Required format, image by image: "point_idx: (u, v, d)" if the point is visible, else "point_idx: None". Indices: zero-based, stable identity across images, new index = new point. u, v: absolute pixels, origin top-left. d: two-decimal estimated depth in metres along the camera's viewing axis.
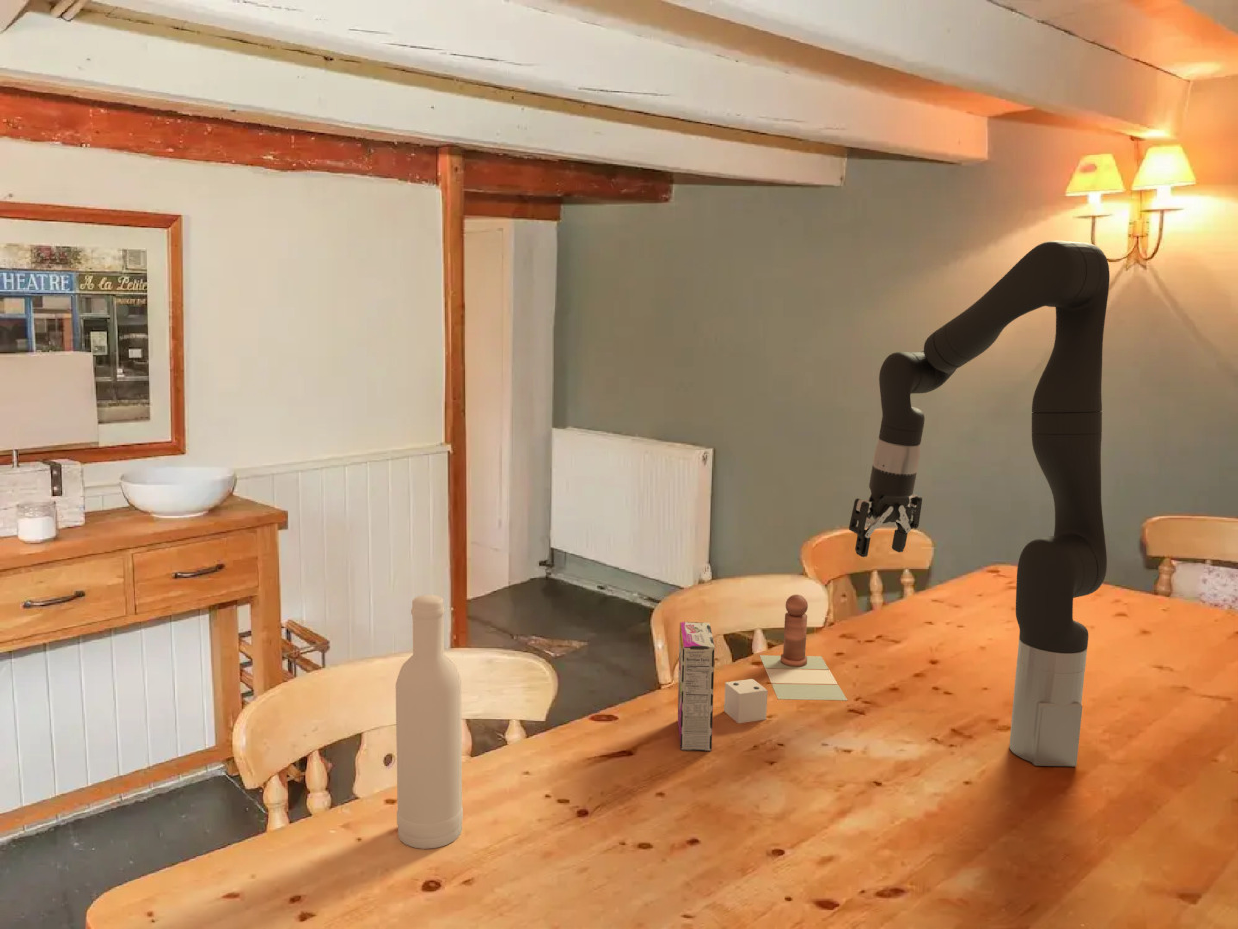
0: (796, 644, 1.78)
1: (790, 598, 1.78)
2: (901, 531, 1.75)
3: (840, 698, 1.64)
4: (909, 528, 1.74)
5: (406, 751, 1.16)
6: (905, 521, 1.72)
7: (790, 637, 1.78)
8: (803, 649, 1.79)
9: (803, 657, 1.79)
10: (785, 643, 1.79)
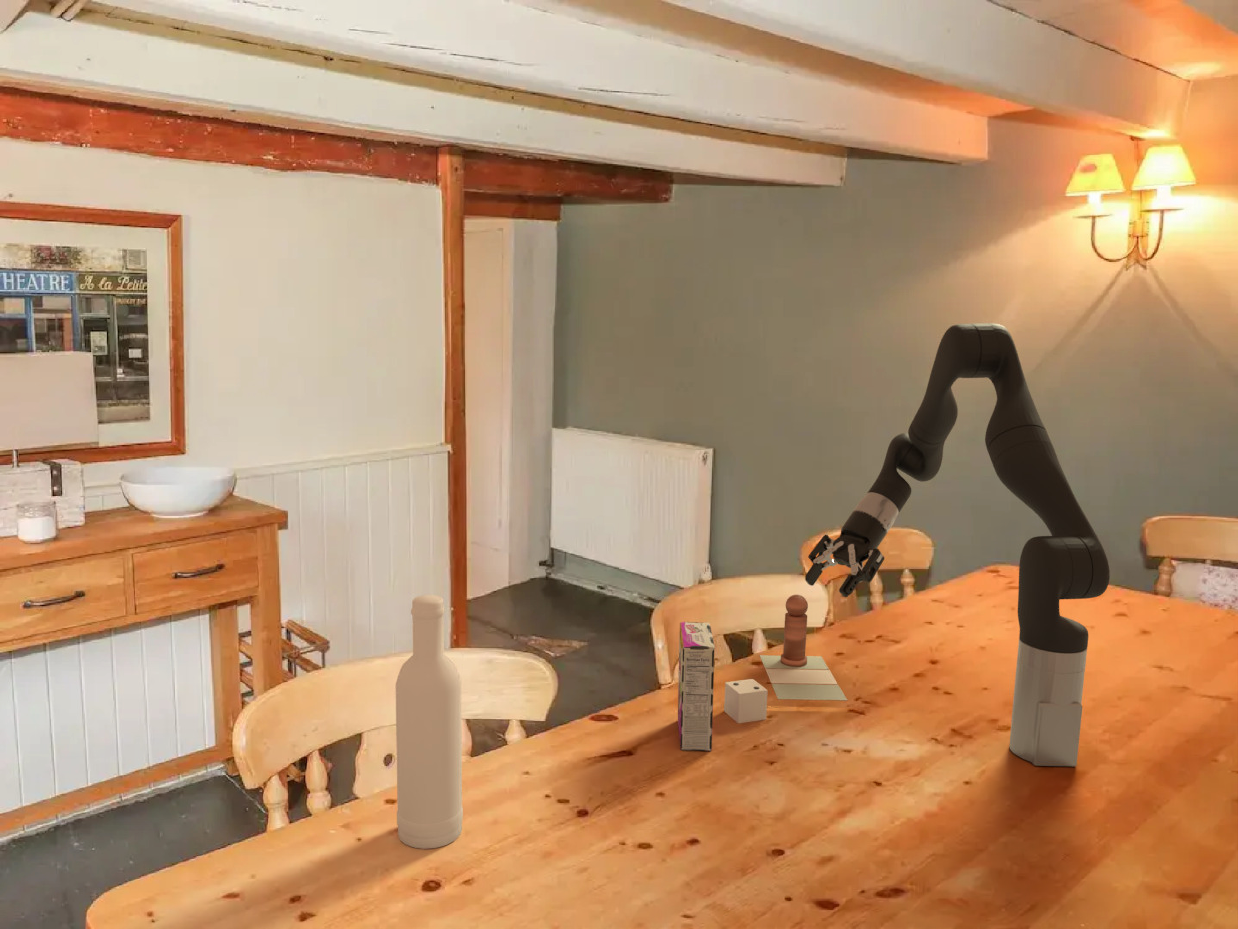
0: (796, 644, 1.78)
1: (790, 598, 1.78)
2: None
3: (840, 698, 1.64)
4: (855, 571, 1.79)
5: (406, 751, 1.16)
6: (851, 560, 1.81)
7: (790, 637, 1.78)
8: (803, 649, 1.79)
9: (803, 657, 1.79)
10: (785, 643, 1.79)
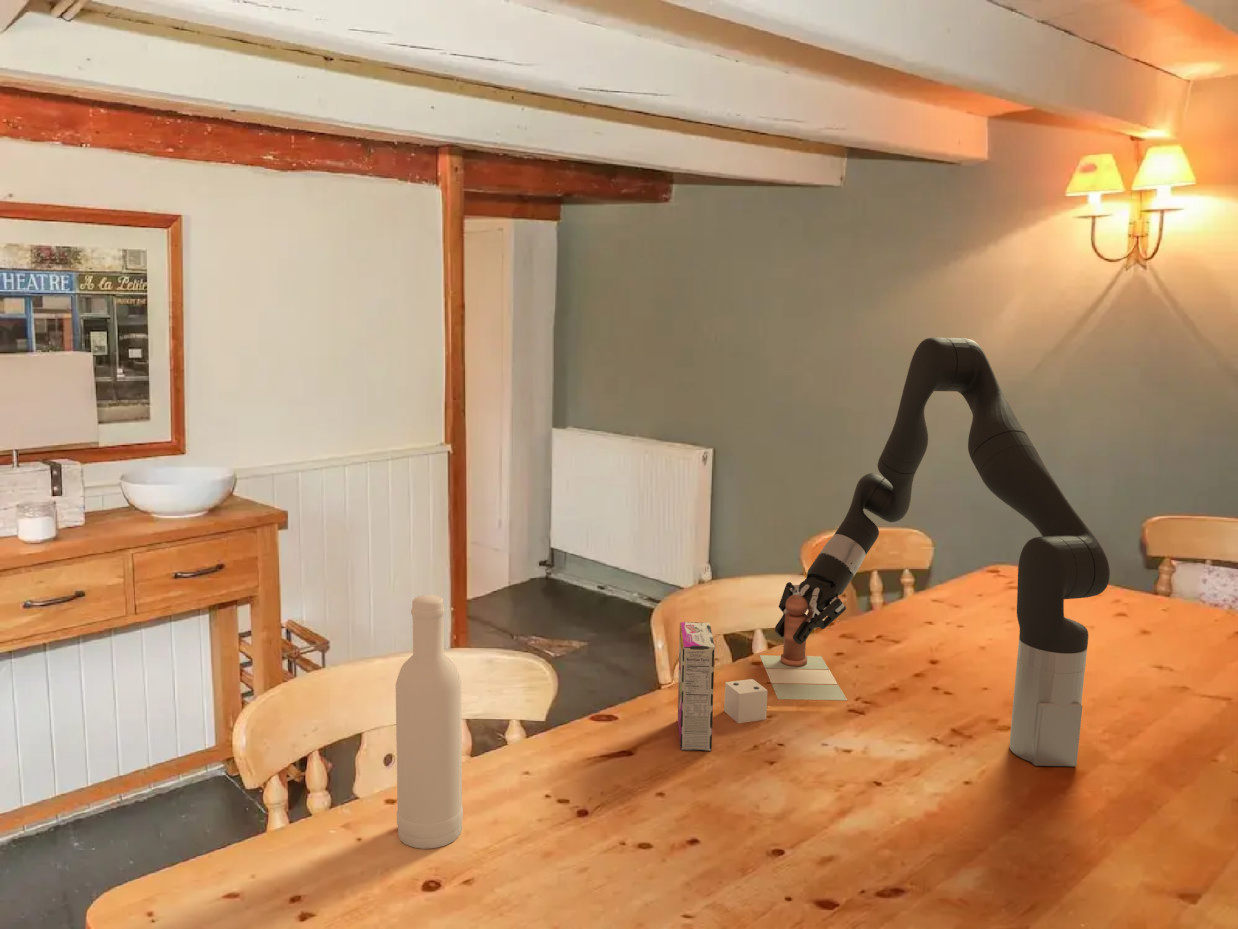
0: (796, 644, 1.78)
1: (790, 598, 1.78)
2: None
3: (840, 698, 1.64)
4: (809, 618, 1.77)
5: (406, 751, 1.16)
6: (810, 606, 1.78)
7: (790, 637, 1.78)
8: (803, 649, 1.79)
9: (803, 657, 1.79)
10: (785, 643, 1.79)
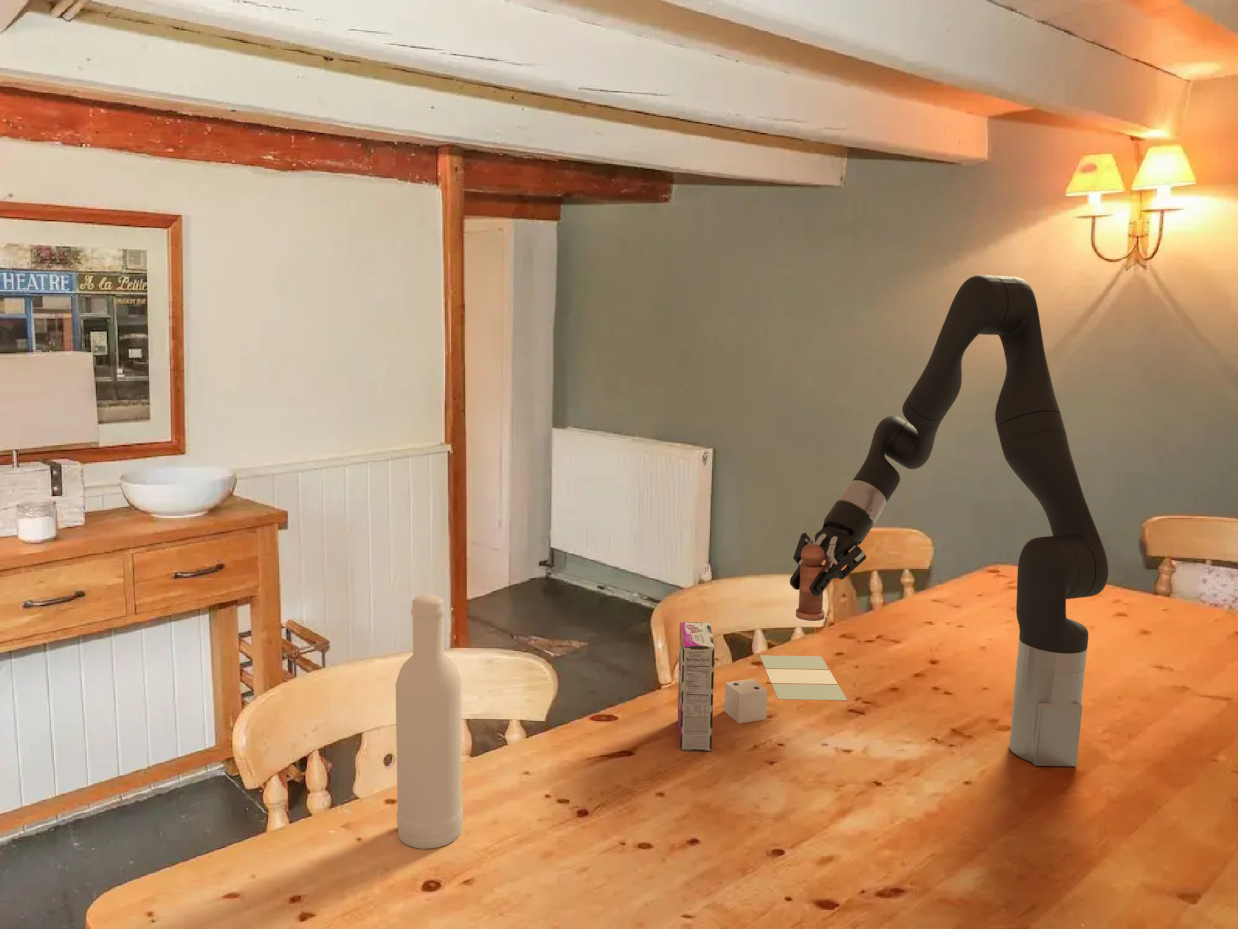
0: (813, 596, 1.65)
1: (806, 547, 1.66)
2: None
3: (840, 698, 1.64)
4: (827, 567, 1.64)
5: (406, 751, 1.16)
6: (828, 555, 1.65)
7: (806, 588, 1.65)
8: (820, 602, 1.66)
9: (820, 611, 1.66)
10: (801, 596, 1.67)
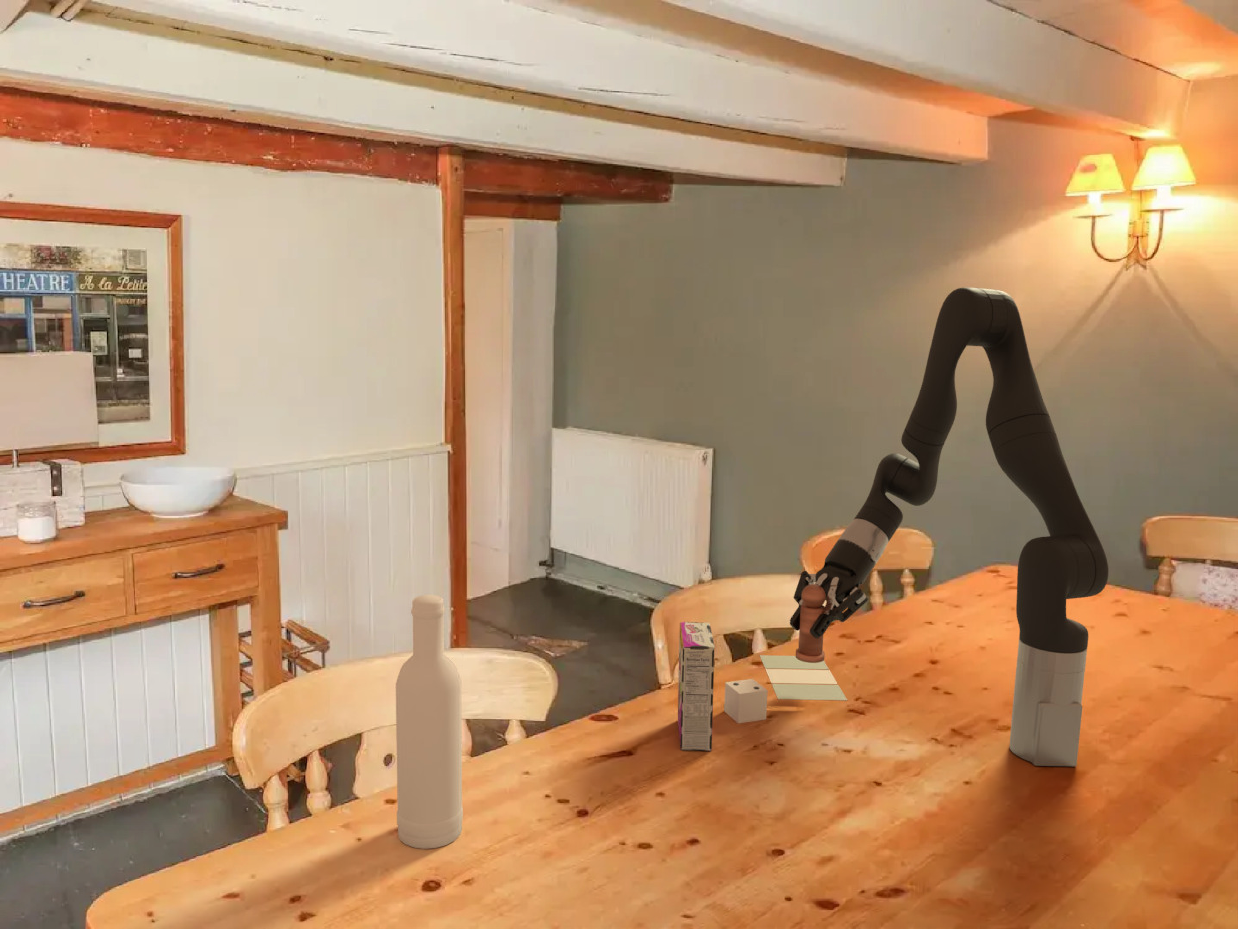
0: (813, 638, 1.63)
1: (807, 588, 1.63)
2: None
3: (840, 698, 1.64)
4: (828, 610, 1.62)
5: (406, 751, 1.16)
6: (829, 596, 1.63)
7: (806, 630, 1.63)
8: (820, 643, 1.64)
9: (820, 652, 1.64)
10: (801, 637, 1.64)
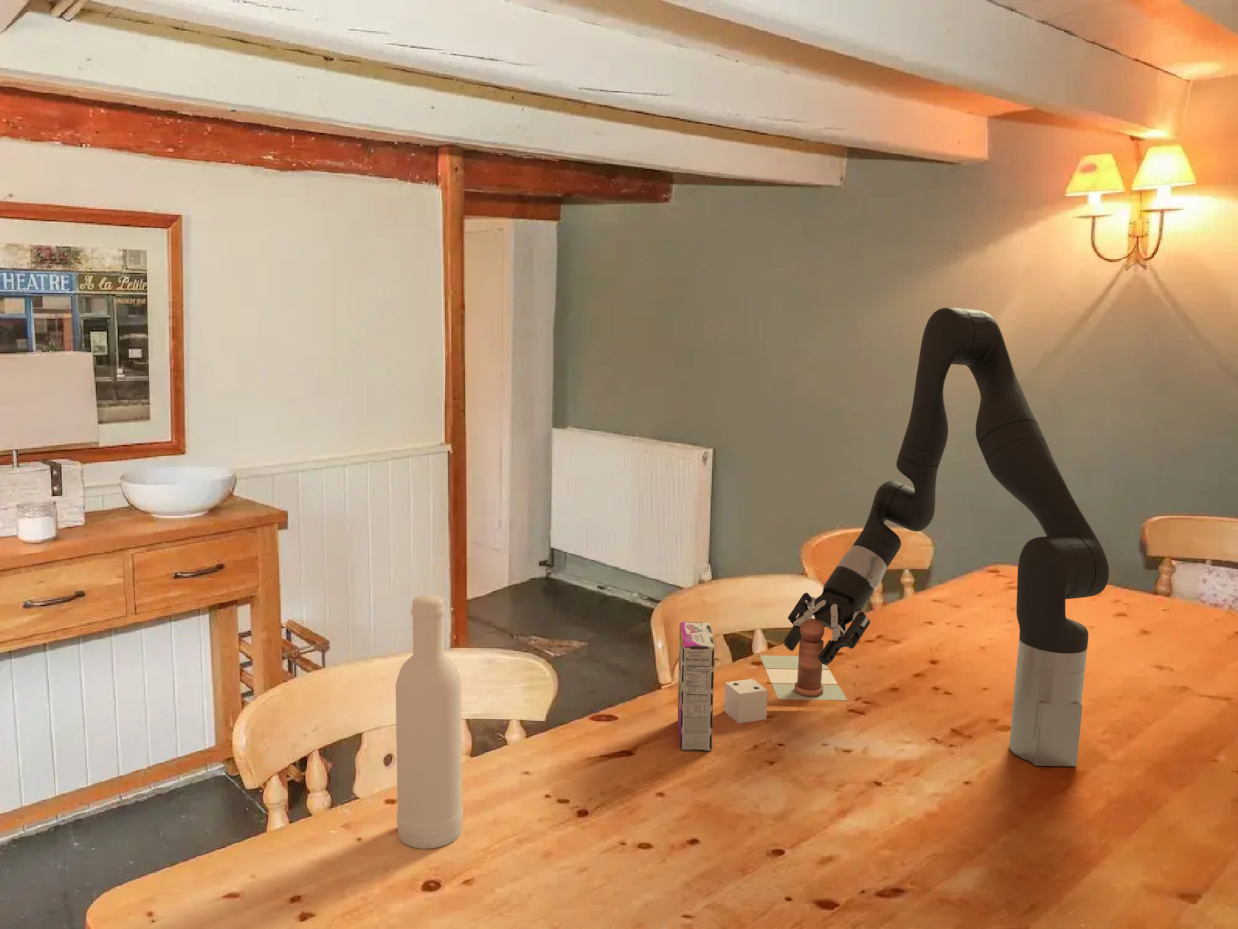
0: (812, 672, 1.64)
1: (805, 622, 1.64)
2: None
3: (840, 698, 1.64)
4: (836, 636, 1.62)
5: (406, 751, 1.16)
6: (833, 623, 1.63)
7: (805, 664, 1.64)
8: (819, 678, 1.65)
9: (819, 686, 1.65)
10: (799, 671, 1.65)
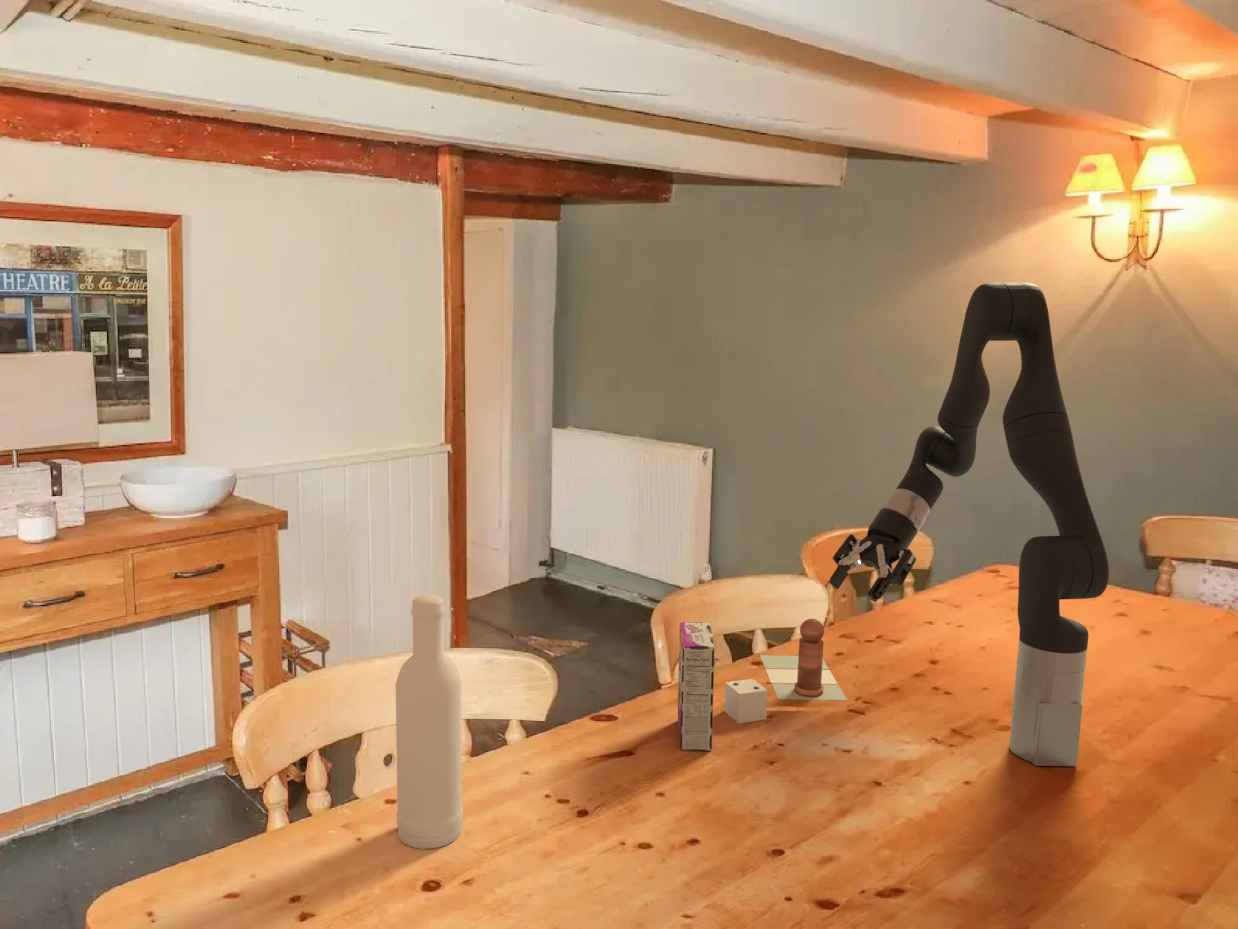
0: (812, 673, 1.64)
1: (805, 623, 1.64)
2: None
3: (840, 698, 1.64)
4: (885, 573, 1.66)
5: (406, 751, 1.16)
6: (881, 562, 1.68)
7: (805, 664, 1.64)
8: (819, 678, 1.65)
9: (819, 686, 1.65)
10: (799, 671, 1.65)
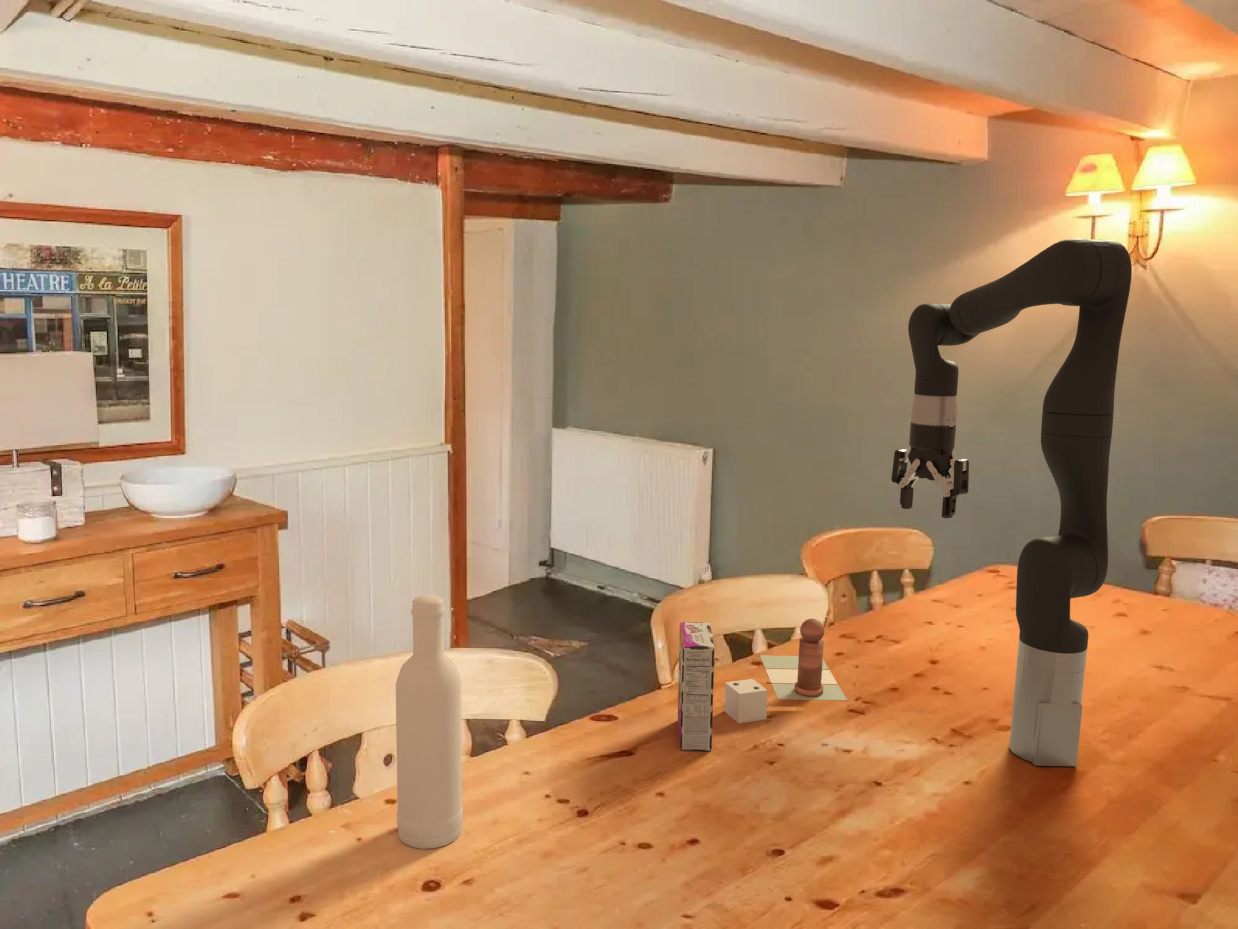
0: (812, 673, 1.64)
1: (805, 622, 1.64)
2: None
3: (840, 698, 1.64)
4: (948, 492, 1.66)
5: (406, 751, 1.16)
6: (938, 481, 1.67)
7: (805, 664, 1.64)
8: (819, 678, 1.65)
9: (819, 686, 1.65)
10: (799, 671, 1.65)
